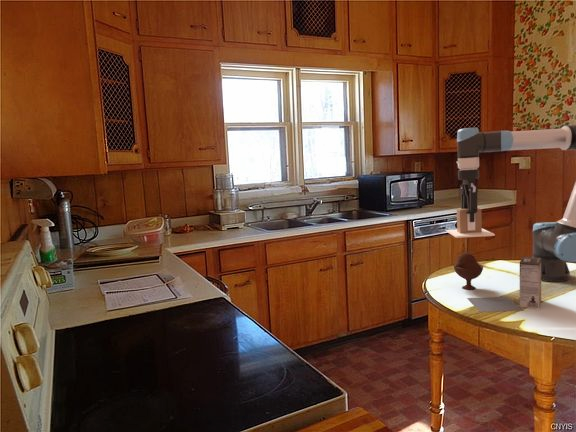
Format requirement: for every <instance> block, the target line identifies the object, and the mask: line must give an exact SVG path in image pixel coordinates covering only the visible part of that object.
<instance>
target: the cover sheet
mask: <svg viewBox="0 0 576 432" xmlns="http://www.w3.org/2000/svg"><path fill="white" fill-rule="evenodd" d="M466 212H468V208H467V209H461V208H457V209H456V228H455V229H446V230H445V232H446V233H448V234H450V235H451V236H453V237H454V238H455V239H456V238H457V239H460V238H461V239H462V238H476V237H479V238H480V237H493V236H494V237H495V235H496V234H495V233H494V232H492V231H489V230H487V229H485V228H482V225H483V224H482V223H483V222H482V218H483V217H482V208H479V207H477V212H476V213H475V230H469V231H468V229H467V214H466Z"/></svg>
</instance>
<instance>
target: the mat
mask: <svg viewBox="0 0 576 432" xmlns="http://www.w3.org/2000/svg"><path fill="white" fill-rule="evenodd" d="M466 299H467V300H468V302H470V303H471V304H472V305H473V306H474V308H475V309H477V311H478V312H479V313H483V312H485V313H487V312H488V313H489V312H490V313H492V312H517V311H519V312H520V311H521V312H522V311H525V310H524V309H523V307H520V305H519V304H517V303H516V302H514V301H513V300H512V299H511V298H510V297H508V296H488V297H487V296H485V297H466Z"/></svg>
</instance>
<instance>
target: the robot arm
mask: <svg viewBox="0 0 576 432" xmlns="http://www.w3.org/2000/svg"><path fill="white" fill-rule="evenodd" d="M456 135H457V137H456V145H457V146H456V147H457V161H456V164H457V169H459V170H458V171H457V180H459V181H462V184H460V185H459V187H460V205H461V206H460V209H467V208H468V212H466V214H467V229H468V231H469V230H475V213H476V212H477V208H478V192H479V191H478V190H479V187H478V186H476V184H475V183H476V182H475V180H479V178H480V170H479V169H478V168H479V167H480V157H479V156H480V154H479V153H492V152H493V153H495V152H506V151H523V150H542V149H560V150H561V151H576V124H572V125H563V126H562V127H561V128H550V129H549V128H548V129H533V130H517V131H516V130H515V131H514V130H513V131H510V130H496V131H494V130H493V131H485V132H480V131H479V128H478V127H466V128H465V127H464V128H460V129H458V130H457V134H456ZM532 258H542V266H541V281H545V282H566V281H569V280H570V278H571V271H570V269H569V267H568V264H567V262H568V263H576V181H575V182H574V185H573V188H572V191H571V193H570V196H569V200H568V202H567V205H566V208H565V211H564V213H563V217H562V218H561V219H559V220H556V221H553V222H551V221H550V222H548V221H547V222H536V223H534V224H533V226H532Z"/></svg>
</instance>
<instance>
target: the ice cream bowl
mask: <svg viewBox="0 0 576 432" xmlns="http://www.w3.org/2000/svg"><path fill="white" fill-rule="evenodd" d="M453 269H454V271H455V274H457V275H458V276H459V277H461V278H462V279H465V282H466V284H465V285H463V286H462V287H461V289H463V290H466V291H475V290H476V289H477V288H476V287H475V286H474V285H473V284H472V280H474V279H477V278H478V277H480V275H481V274H482V272H483V270H484V265H482V264H480V263H479V262H478V261H477V259H476V257H475V256H474V254H472V253H470V252H463V253H461V254H459V256H458V259H457V260H456V263H455V264H454V265H453Z"/></svg>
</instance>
